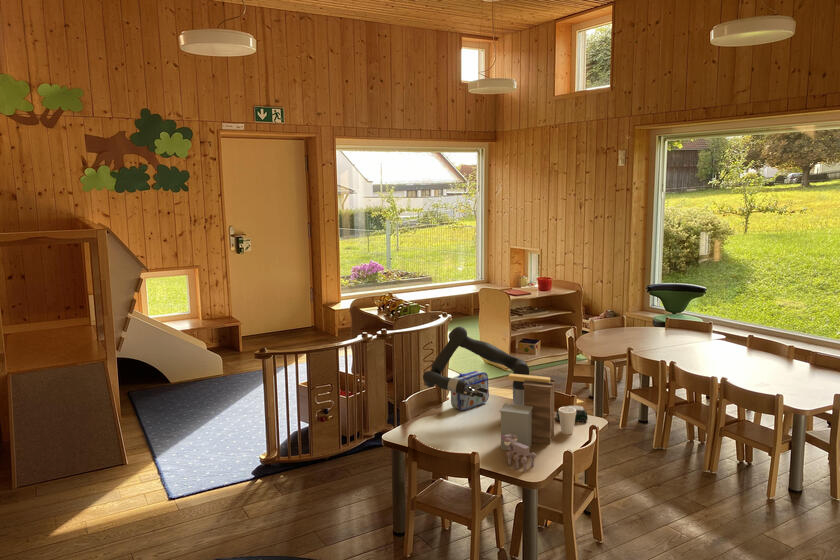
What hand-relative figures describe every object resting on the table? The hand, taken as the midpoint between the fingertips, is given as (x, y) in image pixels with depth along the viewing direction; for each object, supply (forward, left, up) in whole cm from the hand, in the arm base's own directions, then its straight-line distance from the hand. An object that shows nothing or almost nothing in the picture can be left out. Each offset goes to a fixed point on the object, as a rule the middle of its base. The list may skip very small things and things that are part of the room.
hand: (485, 393), depth 352 cm
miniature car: (-37, +41, -25) cm, 61 cm away
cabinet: (-6, +29, -24) cm, 38 cm away
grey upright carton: (+9, +20, -24) cm, 33 cm away
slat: (-6, +23, +8) cm, 25 cm away
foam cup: (-19, +42, -25) cm, 52 cm away
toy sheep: (+27, +24, -25) cm, 44 cm away
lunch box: (-39, -22, -25) cm, 51 cm away
